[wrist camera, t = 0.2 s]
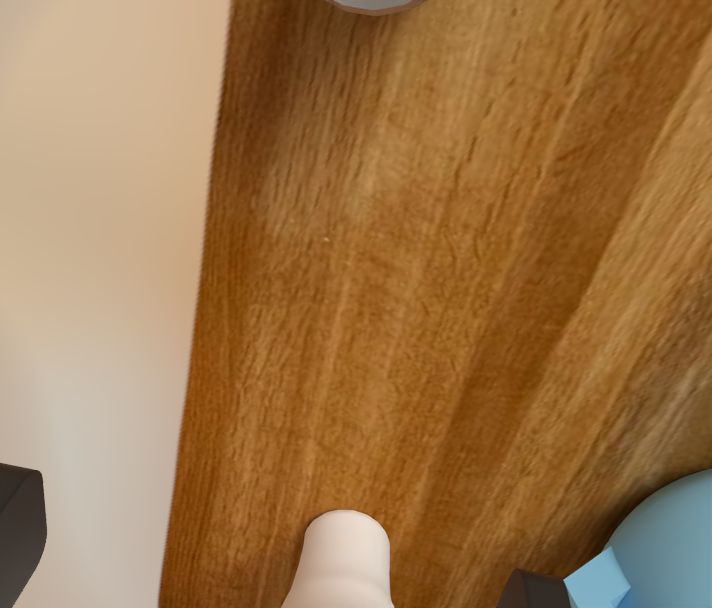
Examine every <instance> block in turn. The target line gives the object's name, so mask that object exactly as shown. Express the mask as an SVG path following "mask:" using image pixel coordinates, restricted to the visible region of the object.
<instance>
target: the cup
mask: <svg viewBox="0 0 712 608" xmlns="http://www.w3.org/2000/svg"><path fill="white" fill-rule="evenodd" d="M389 563H390V543H389V540H388V537H387V533H386V532H385V531H384V529H383V528H382V527H381V525H380V524H379V523H378V522H377V521H376V520H374V519H373V518H371V517H370V516H368V515H367V514H364V513H360V512H357V511H354V510H334V511H330V512H326V513H324V514H323V515H321V516H319V517H318V518H316V519H315V520H313V521H312V523H311V524H310V525H309V527H308V528H307V530H306V532H305V538H304V546H303V550H302V554H301V558H300V562H299V566H298V569H297V572H296V575H295V578H294V581H293V584H292V587H291V590H290V591H289V593H288V595H287V597H286V599H285V601H284V603H283V605H282V607H281V608H394V606H393V604H392V601H391V597H390V583H389Z"/></svg>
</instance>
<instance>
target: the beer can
mask: <svg viewBox="0 0 712 608" xmlns="http://www.w3.org/2000/svg"><path fill="white" fill-rule="evenodd" d="M325 1H327V2H328V3H330V4H332V5H334V6H336V7H338V8H340V9H341V10H343V11H346V12H352V13H358V14H364V15H371V16H382V15H387V14H393V13H398V12H403V11H409V10H411V9H412V8H414V7H416V6H418V5H419V4H421V3H423V2H425V1H427V0H325Z"/></svg>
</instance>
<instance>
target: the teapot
mask: <svg viewBox="0 0 712 608" xmlns="http://www.w3.org/2000/svg"><path fill="white" fill-rule="evenodd" d="M564 582H565V584H566V587H567V591H568V595H569V600H570V604H571V608H712V468H711V469H707V470H703V471H700V472H697V473H694V474H691V475H688V476H685V477H683V478H681V479H678V480H676V481H674V482H672V483H670V484H668V485H666V486H664V487H663V488H661V489H659V490H657V491H656V492H654V493H653V494H652V495H650V496H649V497H647V498H646V499H645V500H643V501H642V502H641V503H640V504H639V505H638V506H637V507H636V508H634V510H633V511H632V512H631V513H630V514H629V515H628V516H627V517H626V518H625V519H624V520H623V521H622V523H621V524H620V525H619V526H618V527H617V529H616V530H615V531H614V533H613V534H612V536H611V537H610V539H609V541H608V542H607V544H606V545H605V547H604V548H603V550H602V552H601V553H600V554H599V555H598V556H596V557H595V558H593V559H592V560H591V561H589V562H588V563H586V564H585V565H584V566H582V567H581V568H579V569H578V570H577V571H575V572H574V573H572V574H571V575H570V576H568V577H567V578H565V579H564Z"/></svg>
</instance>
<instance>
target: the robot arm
mask: <svg viewBox="0 0 712 608" xmlns="http://www.w3.org/2000/svg"><path fill="white" fill-rule="evenodd" d="M46 538H47V525H46V513H45V502H44V489H43V478H42V474H41V473H40V471H38V470H33V469H28V468H23V467H18V466H13V465H8V464H3V463H0V608H12V607H13V605H14V604H15V602H16V600H17V599H18V597H19V595H20V594H21V592H22V591H23V589H24V587H25V586H26V584H27V582H28V581H29V579H30V578H31V576H32V574H33V573H34V571H35V569H36V567H37V565H38V563H39V561H40V559H41V556H42V554H43V551H44V547H45V543H46ZM496 608H571V604H570V600H569V595H568V591H567V587H566V584H565V582H564V580H563V579H562V578H561V577H558V576H553V575H548V574H543V573H538V572H533V571H528V570H523V569H515V570H514V571H513V572H512V574H511V576H510V578H509V580H508V582H507V585H506V587H505V589H504V591H503V593H502V595H501V598H500V600H499V602H498V604H497V606H496Z"/></svg>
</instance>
